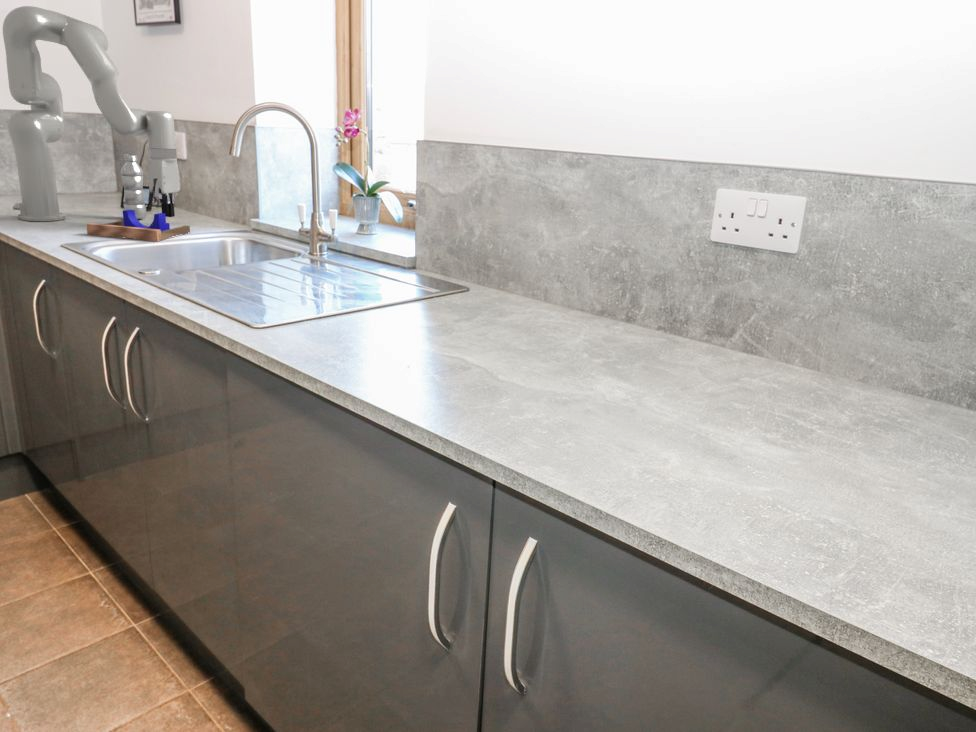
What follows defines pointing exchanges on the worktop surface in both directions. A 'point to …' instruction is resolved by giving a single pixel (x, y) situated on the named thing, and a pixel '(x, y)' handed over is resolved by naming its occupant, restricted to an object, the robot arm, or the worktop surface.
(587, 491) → the worktop surface
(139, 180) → the plastic bottle
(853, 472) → the worktop surface
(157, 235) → the guide channel
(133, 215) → the cable clip
